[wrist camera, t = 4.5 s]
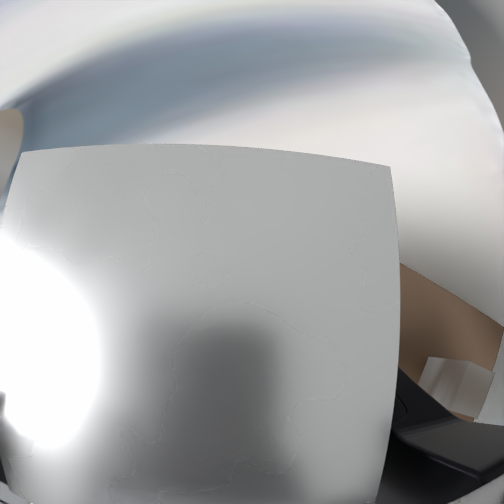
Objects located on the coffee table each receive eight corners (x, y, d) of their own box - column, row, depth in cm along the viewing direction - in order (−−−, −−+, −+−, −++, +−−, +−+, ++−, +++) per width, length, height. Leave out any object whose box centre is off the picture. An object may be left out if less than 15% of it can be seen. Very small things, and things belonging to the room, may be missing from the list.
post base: (441, 467, 14) (479, 487, 9) (316, 439, 14) (343, 473, 10) (497, 327, 16) (540, 324, 12) (393, 265, 17) (437, 248, 12)
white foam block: (271, 395, 15) (364, 538, 3) (150, 385, 14) (9, 491, 3) (278, 275, 16) (390, 166, 4) (157, 267, 16) (21, 152, 4)
